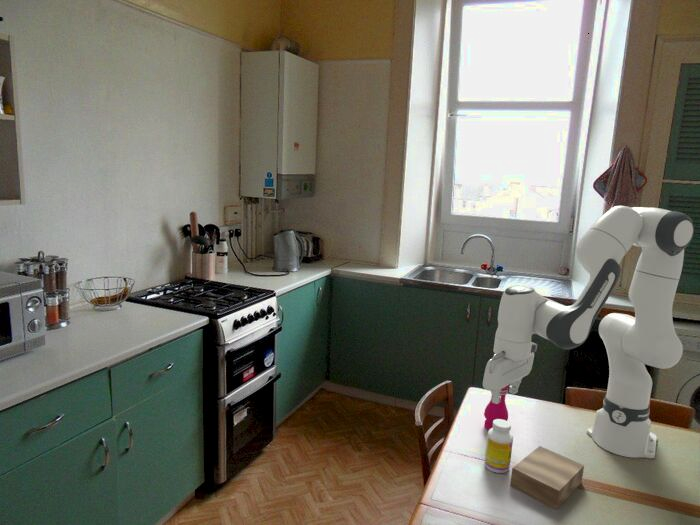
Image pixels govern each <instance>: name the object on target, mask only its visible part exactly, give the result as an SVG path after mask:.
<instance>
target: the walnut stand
mask: <svg viewBox="0 0 700 525" xmlns="http://www.w3.org/2000/svg"><path fill="white" fill-rule="evenodd" d="M584 468H585V465H584V464H582V463H580V462H577V461H575V460H573V459H570V458H568V457H566V456H564V455H562V454H560V453H557V452H554V451H553V450H550V449H548V448H546V447H543V446H541V445H539V446H538V447H537V448H535V449H534V450H533V451H532V452H530V453H529V454H528V455H527V456H525V457H524V458H523V459H521V461H519V462H518V463H517V464H516V465H514V466H513V467H512V469H511V474H510V475H511V476H510V482H509V483H510V484H509V486H510V487H512V488H514V489H516V490H518V491H520V492H522V493H524V495H525V494H526V495H528V496H529V497H531V498H533V499H535V500H537V501H539V502H540V503H543V504H545V505H547V506H549V507H550V508H553V509H554V510H558V508H560V506H562V504H563V503H564V502H565V501H566V500H567V499H568V498H569V497H570V496H571V494H573V493H574V491H575V490H576V489H577V488H579V486H580V485H581V484H582V482H583V476H584Z"/></svg>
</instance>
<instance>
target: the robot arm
mask: <svg viewBox="0 0 700 525" xmlns="http://www.w3.org/2000/svg"><path fill="white" fill-rule="evenodd" d="M694 236H695V225H694V222H693V220H692V217H690V216H689V215H688V214H685V213H684V212H681V211H677V210H673V211H672V210H668V209H664V208H659V207H653V206H652V207H645V206H634V205H633V206H632V205H627V206H625V205H615V206H614V207H611V208H610V209H609V210H607V211H606V212H605V213H604V214H602V215H601V216H600V217H599V218H598V219H597V220H596V221H595V222H594V223H593V224H592V225H591V226H590V227H589V228H588V230H587V231H586V232H585V233H584V234H583V235H582V237H581V238H580V239H579V241H578V242H577V245H576V246H575V253H576V259H577V261H578V262H579V264H580V265H581V267H582V268H583V269H584V270H585V271H586V272H587V273H588V274H589V279H588V282H587V283H586V285H585V286H584V288H583V289H582V292H581V293H580V295H579V296H578V298H577V299H576V301H575V302H574V303H573V304H571V305H565V304H562V303H559V302H557V301H555V300H552V299H550V298H547V297H545V296H543V295H541V294H540V293H539V292H537V291H536V290H535V288H533V287H532V286H529V285H520V284H519V285H512V286H509V287H506V289H504V292H502V295H501V298H500V303H499V307H498V312H497V324H498V325H497V329H496V332H495V337H494V341H493V342H494V343H493V350H492V351H493V353H494V354H493V356H492V357H491V358H490V359H489V360H488V361H487V363H486V366H485V370H484V373H483V380H482V387H483V388H484V389H485V390H487V391H490V393H491V397H492V402H493V403H495V404H498V403H500V402H501V396H500V394H499V392H500V391H501V389H502V388H504V387H506V386H508V385H510V386H509V387H508V392H509V393H510V394H512V395H515V394H517V393H518V391H519V386H520V385H521V383H522V380H523V378H525V377H526V376H528V375H529V374H530V373H531V371H532V368H533V363H534V358H535V353H536V352H537V348H538V344H537V343H535V342H532V336H533V335H535V334H536V335H538V336H540V337H542V338H543V339H546V340H548V341H550V342H551V343H552V344H554V345H555V346H557V347H558V348H560V349H561V350H562V349H563V350H573V349H575V348H578V347H579V346H581V345H583V344H584V343H585V342H586V341H587V339H588V338H589V335H590V334H591V330H592V327H593V325H594V323H595V320H596V319H597V317H598V315H599V314H600V313H601V311H602V308H603V307H604V305H606V303H607V300H608V299H609V297H610V296H611V294H612V293H613V290H614V289H615V287H616V285H617V283H618V282H619V280H620V276H621V272H622V271H621V270H622V269H621V265H620V264H621V262H622V260H623V258H624V257H625V255H626V254H627V253H628V251H630V249H631V248H632V246H635V247H638V248H641V253H640V255H639V257H638V260H637V263H636V266H635V270H634V272H633V274H632V275H633V276H632V279H631V282H630V286H629V290H628V299H629V301H630V303H631V304H632V306H633V308H634V316H632V315H630V314H626V313H621V312H620V313H619V312H612V313H611V312H610V313H609V314H606V315H605V316H604V317H603V318H602V319H601V321H600V322H599V325H598V334H599V337H600V339H602V340H601V341H603V344H604V346H605V349H606V354H607V358H608V366H609V368H608V370H609V372H608V373H609V375H608V376H609V377H608V381H607V382H608V383H607V390H606V394H605V396H604V398H603V401H602V402H603V404H602V408H600V409H597V410H596V414H595V418H594V422H593V426H591V427H589V428H588V429H587V430H586V434H587V435H588V436H590V437H591V438H592V439H593V441H594V442H595V443H596V445H597V446H599V447H600V448H602V449H603V450H606V451H607V452H609V453H613V454H615V455H618V456H622V457H628V458H634V459H635V458H636V459H637V458H645V459H652V458H653V459H655V458H656V448H657V442H656V441H658V439H657V435H656V433H653V432H652V430H651V429H652V428H651V427H652V426H651V425H652V420H651V419H650V411H651V410H650V407H651V406H650V405H651V401H650V400H651V393H652V387H653V379H652V377H651V375H650V374H649V372H648V370H647V367H646V365H647V366H650V367H653V368H657V369H662V370H663V369H664V370H666V369H670V368H672V367H674V366H675V365H677V364H678V362H679V361H680V360H681V358H682V356H683V352H684V346H683V344H682V340H680V338H679V336H678V335H677V332H676V329H675V326H674V321H673V306H674V305H673V304H674V301H675V297H676V296H675V295H676V292H677V288H678V285H679V281H680V278H681V274H682V270H683V267H684V266H683V265H684V257H685V249H686V248H687V247H688V245H690V244H691V242H692V240H693V237H694Z"/></svg>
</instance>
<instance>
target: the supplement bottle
mask: <svg viewBox="0 0 700 525" xmlns="http://www.w3.org/2000/svg"><path fill="white" fill-rule="evenodd" d="M511 430H512V424H511V422H509V421H508V420H507V421H506V420H502V419H495V420H494V421H493V428H491V429H490V430H487V435H486V436H487V437H486V446H485V452H484V460H483V461H484V462H483V463H484V464H483V465H484V466H485V467H486V468H487V469H488V470H489V471H490V472H494V473H497V474H504V473H507V472H508V471H509V470H510V466H511V459H512V451H513V445H514V444H513V443H514V435H513V433H512V432H511Z"/></svg>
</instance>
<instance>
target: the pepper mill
mask: <svg viewBox="0 0 700 525" xmlns="http://www.w3.org/2000/svg"><path fill="white" fill-rule="evenodd" d="M510 386H511V384H510V385H508V386H506V387H504V388H502V389H501V391H500V392H499V394H500V396H501V402H500V403H498V404H495V403H493V402H492V396H491V399H490V400H489V402H488V404H486V406H485V409H484V412H483V416H484V418H485V420H484V425H483V426H484V428H485V429H486V430H487V431H489V430H490V429H491V428H493V421H494V420H495V419H502V420H506V421H508V420H509V411H508V408H507V405H506V395H508V392H509V388H510Z"/></svg>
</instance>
